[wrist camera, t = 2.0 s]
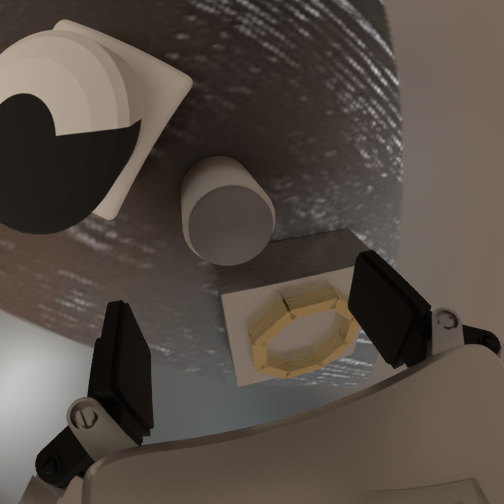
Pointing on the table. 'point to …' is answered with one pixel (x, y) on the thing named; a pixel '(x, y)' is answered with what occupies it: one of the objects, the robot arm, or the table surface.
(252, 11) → the table surface
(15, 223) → the medicine bottle
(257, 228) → the short grey cylinder
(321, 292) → the block
